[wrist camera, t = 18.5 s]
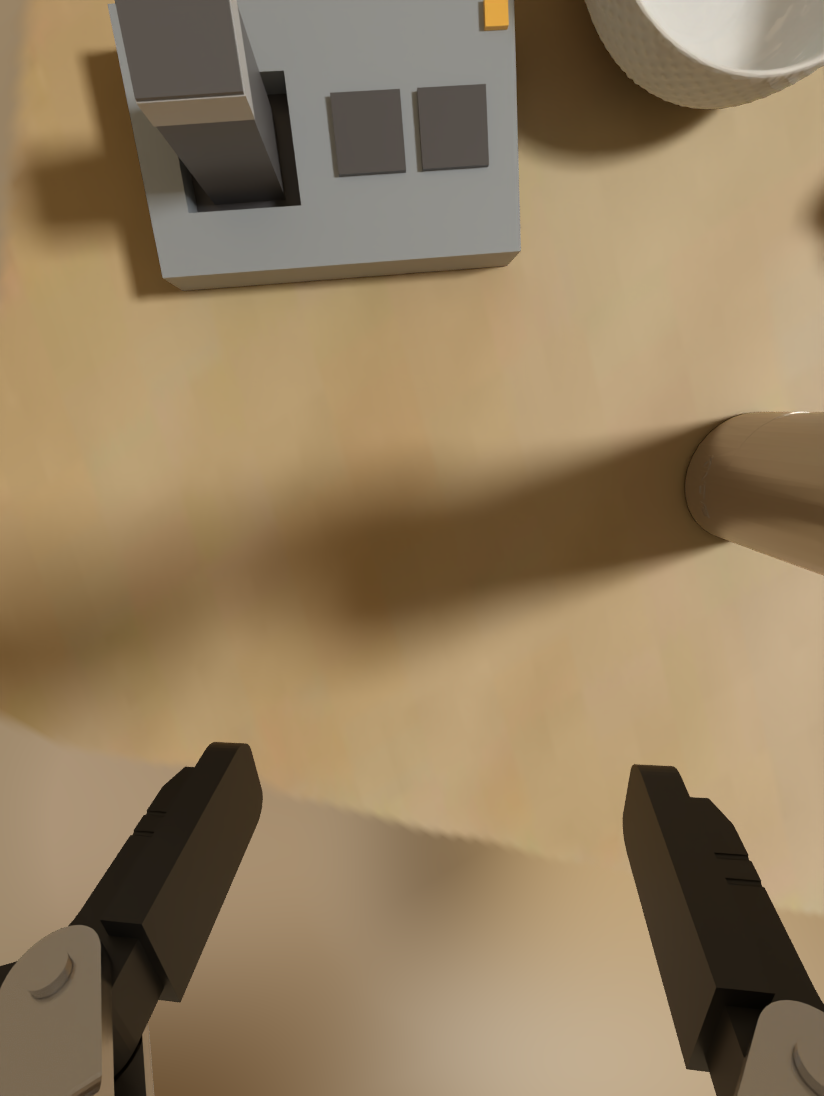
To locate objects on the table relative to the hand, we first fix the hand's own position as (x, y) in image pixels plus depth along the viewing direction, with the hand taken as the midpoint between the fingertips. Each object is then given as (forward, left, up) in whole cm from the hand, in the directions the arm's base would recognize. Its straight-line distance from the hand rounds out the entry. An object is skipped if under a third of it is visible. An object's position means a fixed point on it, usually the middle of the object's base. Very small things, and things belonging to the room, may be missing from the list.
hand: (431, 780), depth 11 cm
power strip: (+1, -22, -25) cm, 33 cm away
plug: (+6, -22, -24) cm, 33 cm away
